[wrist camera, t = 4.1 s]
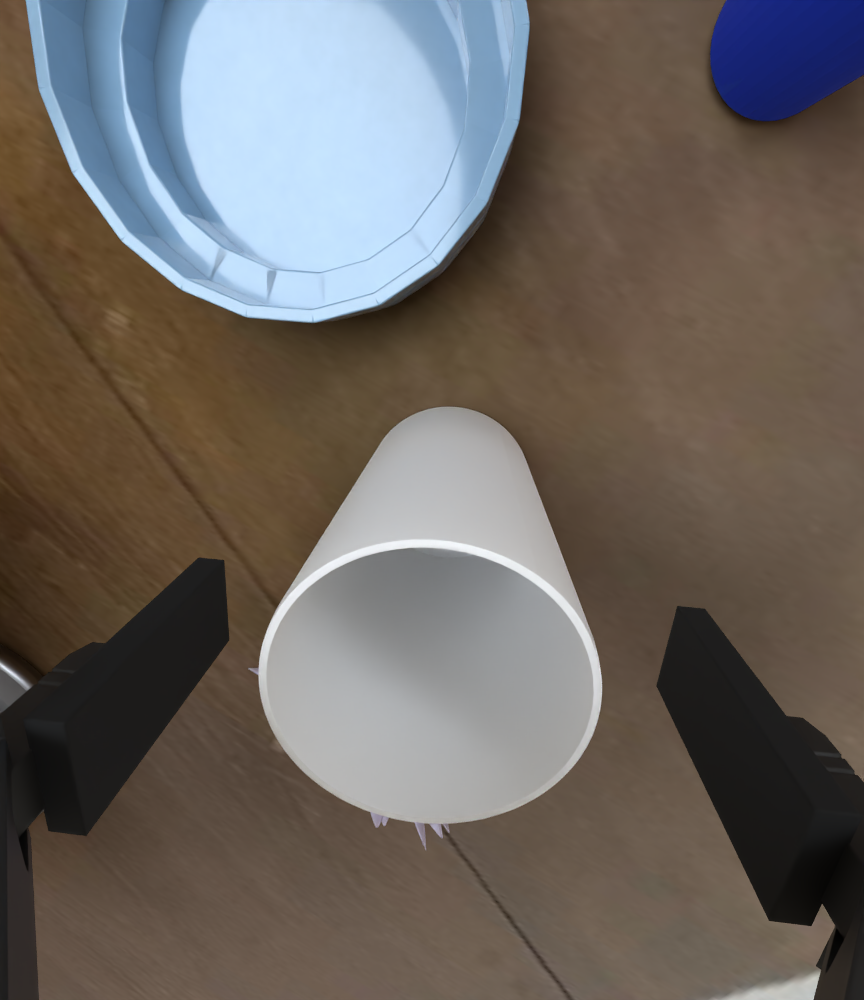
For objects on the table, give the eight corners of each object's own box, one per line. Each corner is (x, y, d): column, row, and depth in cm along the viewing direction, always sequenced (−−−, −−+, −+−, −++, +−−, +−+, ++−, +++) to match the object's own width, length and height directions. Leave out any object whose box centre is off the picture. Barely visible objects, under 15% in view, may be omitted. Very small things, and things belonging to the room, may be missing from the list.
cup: (339, 502, 29) (197, 719, 14) (429, 372, 26) (377, 463, 11) (465, 585, 30) (464, 871, 15) (563, 469, 27) (681, 671, 12)
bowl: (141, 304, 26) (68, 303, 21) (92, -172, 20) (-21, -316, 15) (490, 332, 25) (495, 337, 21) (541, -148, 20) (565, -292, 15)
